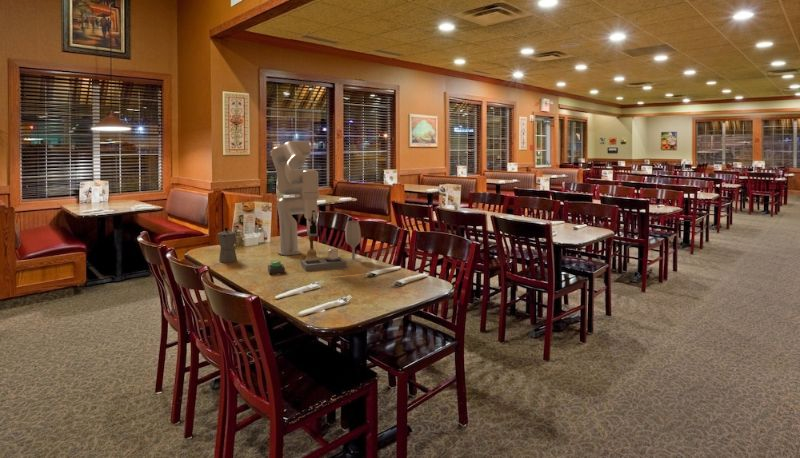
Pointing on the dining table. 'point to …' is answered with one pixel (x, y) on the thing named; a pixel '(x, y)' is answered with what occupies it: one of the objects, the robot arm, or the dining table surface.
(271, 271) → the button housing
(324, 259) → the tray
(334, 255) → the billet
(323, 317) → the dining table surface
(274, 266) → the button
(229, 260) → the coffeepot
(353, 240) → the wineglass
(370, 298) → the dining table surface
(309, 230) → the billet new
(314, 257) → the hand bell
